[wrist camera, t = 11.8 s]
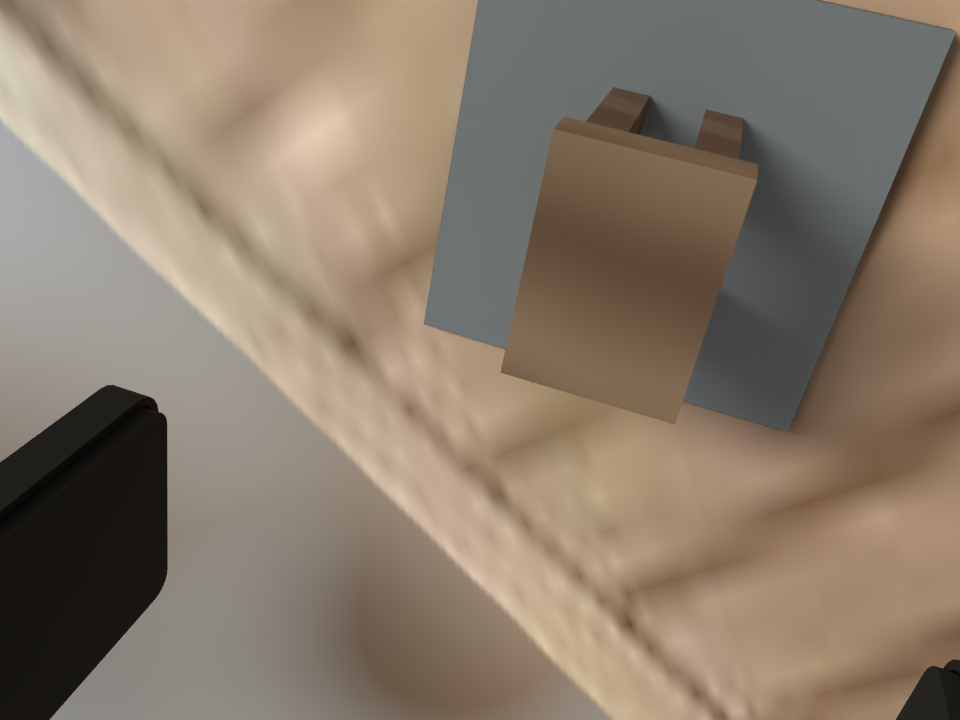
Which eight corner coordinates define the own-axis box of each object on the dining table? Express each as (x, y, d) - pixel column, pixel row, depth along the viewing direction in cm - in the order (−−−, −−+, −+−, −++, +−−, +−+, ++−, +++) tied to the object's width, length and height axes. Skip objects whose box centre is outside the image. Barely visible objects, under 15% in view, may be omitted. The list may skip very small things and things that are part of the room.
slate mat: (952, 29, 26) (956, 32, 26) (787, 424, 33) (787, 432, 33) (495, -73, 28) (490, -72, 28) (428, 318, 35) (423, 324, 35)
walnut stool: (694, 310, 32) (674, 424, 25) (556, 272, 32) (500, 372, 26) (759, 112, 28) (757, 180, 21) (603, 74, 29) (552, 128, 22)
